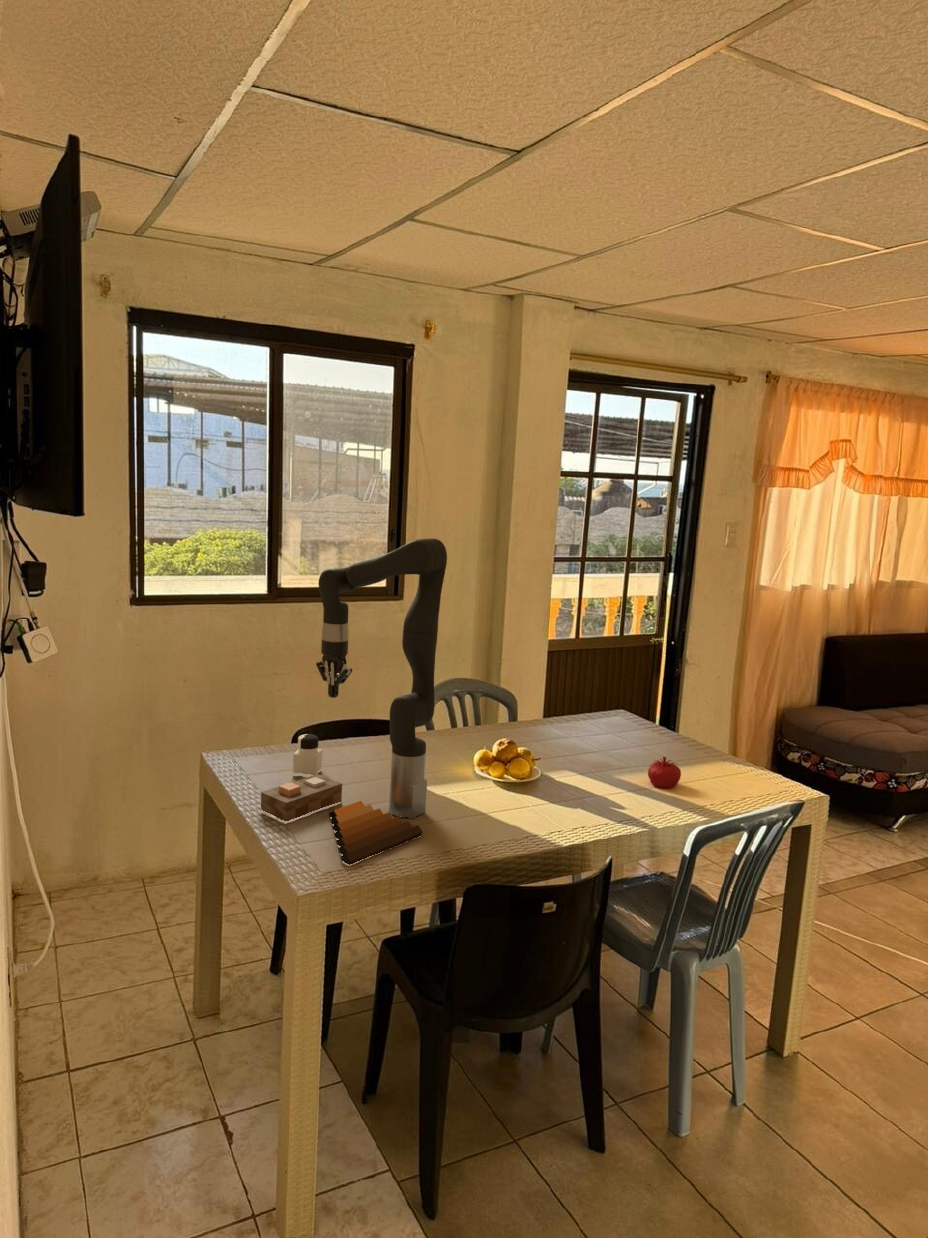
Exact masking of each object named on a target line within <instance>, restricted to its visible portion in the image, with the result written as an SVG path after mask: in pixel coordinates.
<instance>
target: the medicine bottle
mask: <svg viewBox="0 0 928 1238" xmlns="http://www.w3.org/2000/svg"><path fill="white" fill-rule="evenodd" d="M292 756H293V757H292V773H293V772H294V773H303V774H311V775H316V774H317V773H318V771H319V770H320V769H321V767H322V768H323V766H322V765H323V749H322V748H319V737H318V736H317V735H315V734H312V733H305V734H301V735H299V736H298V737H297V750H296V751H294V753H293V755H292Z"/></svg>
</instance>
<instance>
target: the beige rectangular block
mask: <svg viewBox="0 0 928 1238" xmlns="http://www.w3.org/2000/svg"><path fill="white" fill-rule="evenodd" d="M305 785H308V786H311V787H313V788H316V787H319V786H322V785H325V780H322V779H319V778H317V777H314V778H311V779H308V780H305Z"/></svg>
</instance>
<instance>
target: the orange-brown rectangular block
mask: <svg viewBox="0 0 928 1238" xmlns="http://www.w3.org/2000/svg"><path fill="white" fill-rule="evenodd" d="M291 782H292V781H291ZM291 782H287V783H284V784H281V785H279V786H278V787H279V793H281V794H284V795H286V796H288V797H289V796H292V795H295V794H298V793H300V792H301V786H299V785H296V784H294V783H291Z"/></svg>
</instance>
